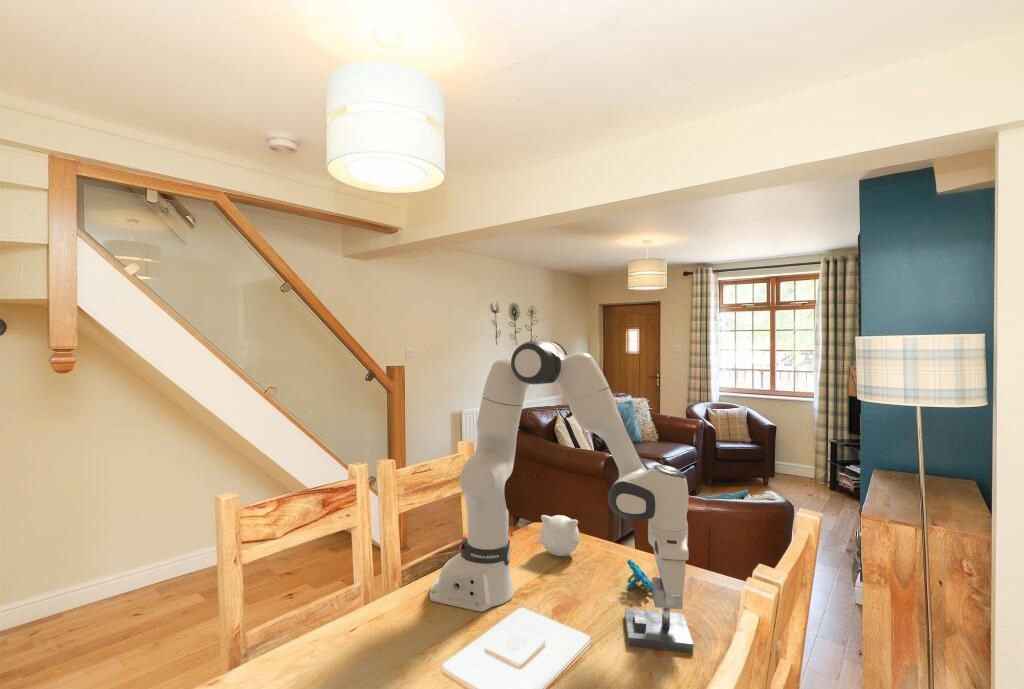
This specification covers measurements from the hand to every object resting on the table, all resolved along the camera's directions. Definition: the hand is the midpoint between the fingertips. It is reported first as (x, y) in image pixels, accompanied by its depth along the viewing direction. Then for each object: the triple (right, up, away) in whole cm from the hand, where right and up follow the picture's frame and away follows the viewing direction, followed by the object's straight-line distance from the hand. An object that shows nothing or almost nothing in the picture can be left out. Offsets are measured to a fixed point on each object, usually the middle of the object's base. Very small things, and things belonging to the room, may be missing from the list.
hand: (666, 594), depth 118 cm
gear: (-1, -9, +22) cm, 24 cm away
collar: (0, -2, 0) cm, 2 cm away
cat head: (-21, -8, +42) cm, 48 cm away
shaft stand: (-2, -9, +1) cm, 10 cm away
